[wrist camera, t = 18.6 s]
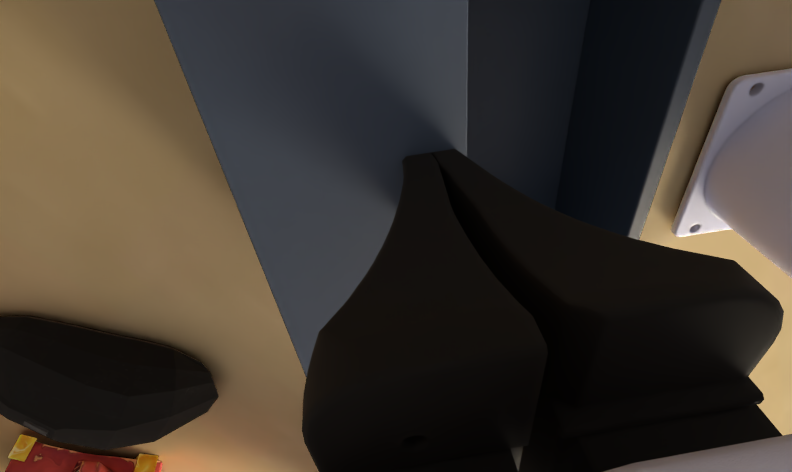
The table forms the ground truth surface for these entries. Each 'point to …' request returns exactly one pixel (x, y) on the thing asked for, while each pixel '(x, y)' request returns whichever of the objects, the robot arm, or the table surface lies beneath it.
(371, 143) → the flap
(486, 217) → the robot arm
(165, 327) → the table surface
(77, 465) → the book monster
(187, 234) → the table surface
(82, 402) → the gaming mouse
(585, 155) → the storage box
